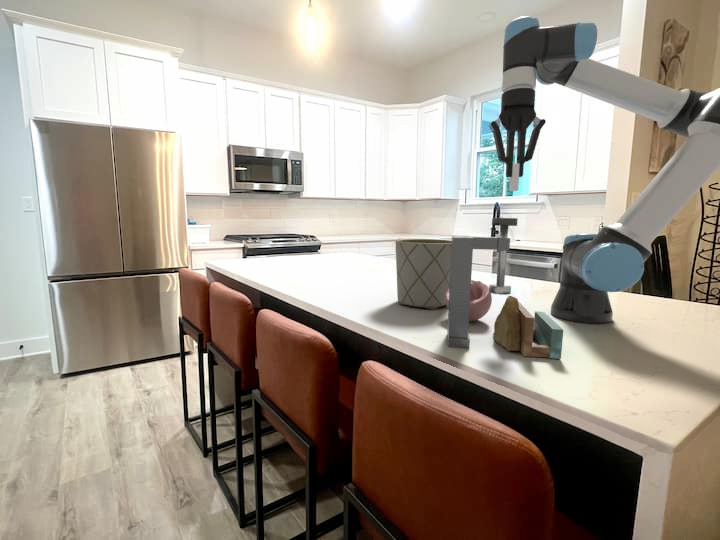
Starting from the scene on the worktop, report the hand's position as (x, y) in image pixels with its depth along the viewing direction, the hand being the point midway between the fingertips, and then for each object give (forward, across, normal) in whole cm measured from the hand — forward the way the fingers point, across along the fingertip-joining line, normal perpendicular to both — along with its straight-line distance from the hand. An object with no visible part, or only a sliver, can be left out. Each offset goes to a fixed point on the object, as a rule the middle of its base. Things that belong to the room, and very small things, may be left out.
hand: (513, 190), depth 96 cm
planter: (+34, +21, -19) cm, 44 cm away
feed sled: (+34, -1, +18) cm, 38 cm away
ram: (+23, +6, +17) cm, 29 cm away
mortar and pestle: (+34, +10, -1) cm, 36 cm away
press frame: (+34, +11, +17) cm, 40 cm away
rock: (+34, +4, +17) cm, 38 cm away
